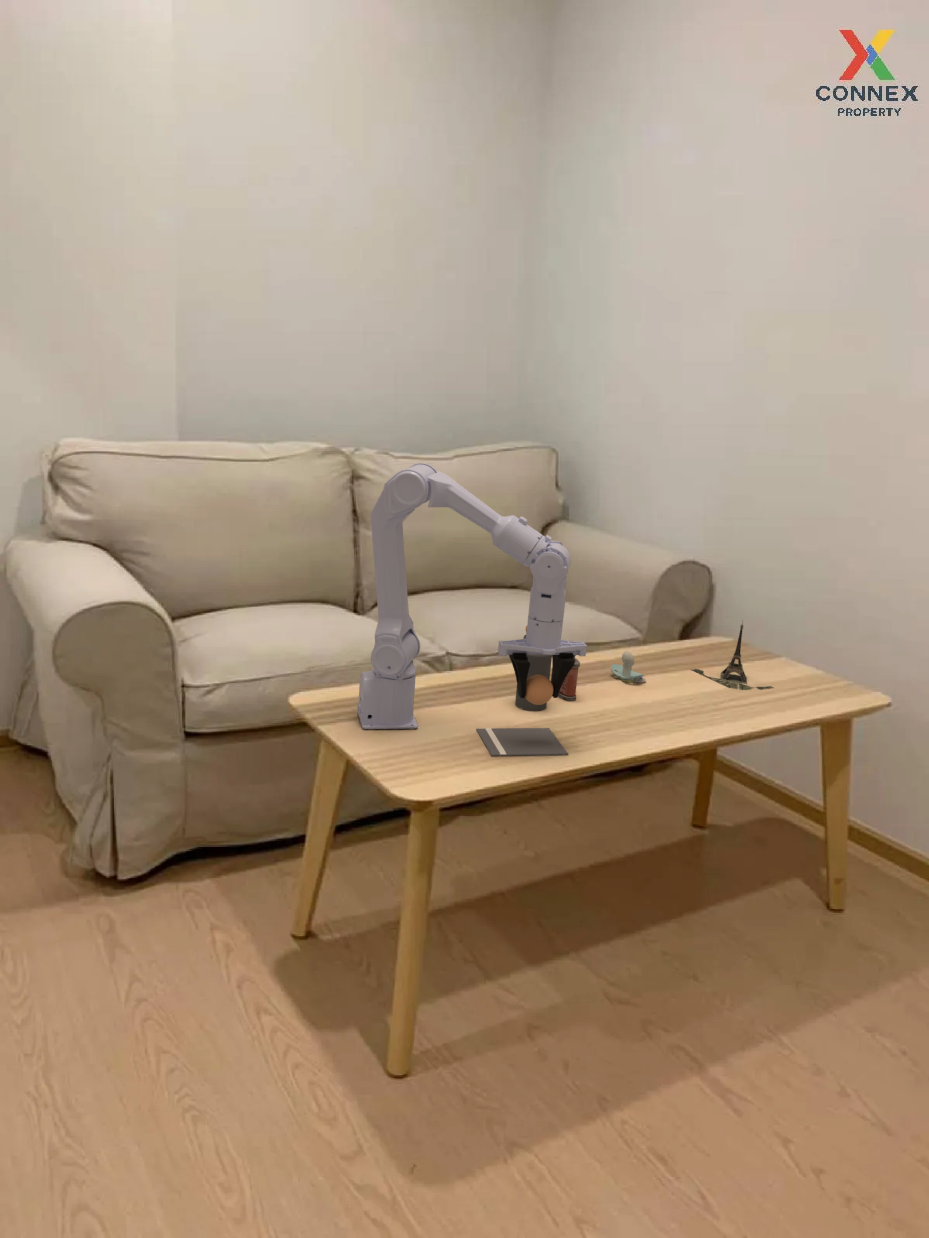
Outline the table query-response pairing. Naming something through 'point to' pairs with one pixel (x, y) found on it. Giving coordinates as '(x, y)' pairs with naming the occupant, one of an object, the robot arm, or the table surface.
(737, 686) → the eiffel tower figurine
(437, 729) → the table surface
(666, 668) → the table surface
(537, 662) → the bottle
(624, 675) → the pacifier
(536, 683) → the ball
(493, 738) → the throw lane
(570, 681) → the lighter
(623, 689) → the table surface
